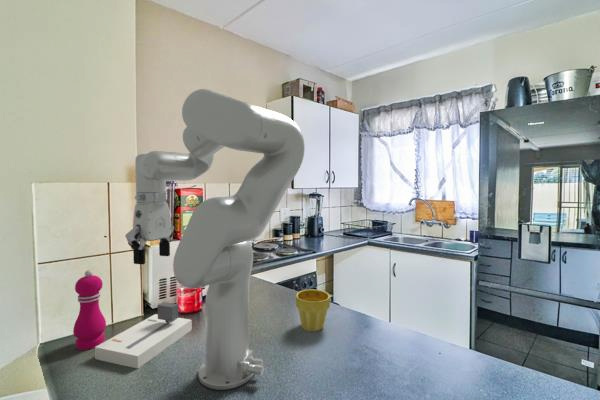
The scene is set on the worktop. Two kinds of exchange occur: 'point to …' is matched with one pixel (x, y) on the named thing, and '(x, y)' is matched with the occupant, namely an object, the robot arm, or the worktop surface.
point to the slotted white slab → (142, 341)
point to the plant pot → (312, 308)
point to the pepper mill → (89, 313)
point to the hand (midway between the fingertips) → (152, 259)
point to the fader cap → (167, 311)
